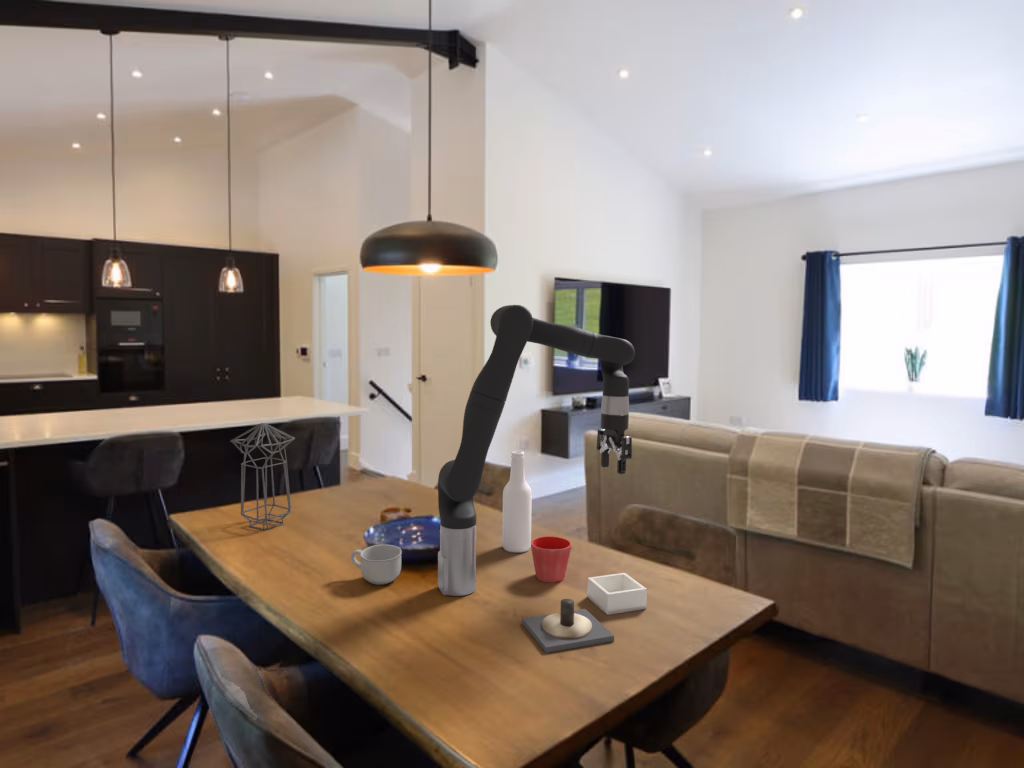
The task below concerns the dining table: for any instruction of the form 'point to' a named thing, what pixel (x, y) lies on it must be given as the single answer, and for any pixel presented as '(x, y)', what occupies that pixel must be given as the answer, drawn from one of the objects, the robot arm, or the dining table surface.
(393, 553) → the teacup
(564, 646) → the mat
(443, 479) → the robot arm
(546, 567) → the flower pot
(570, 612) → the lid
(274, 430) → the geometric lantern
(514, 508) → the alcohol
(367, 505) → the dining table surface
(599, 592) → the dish
